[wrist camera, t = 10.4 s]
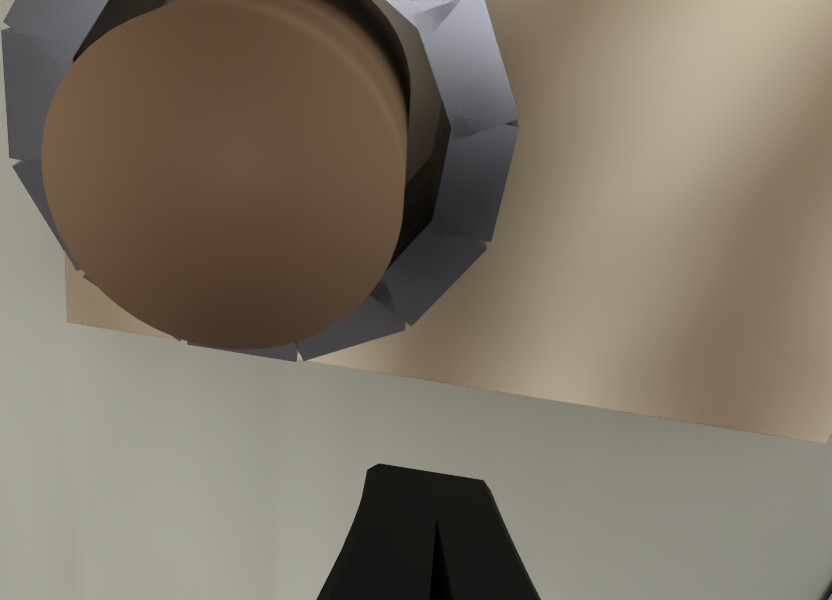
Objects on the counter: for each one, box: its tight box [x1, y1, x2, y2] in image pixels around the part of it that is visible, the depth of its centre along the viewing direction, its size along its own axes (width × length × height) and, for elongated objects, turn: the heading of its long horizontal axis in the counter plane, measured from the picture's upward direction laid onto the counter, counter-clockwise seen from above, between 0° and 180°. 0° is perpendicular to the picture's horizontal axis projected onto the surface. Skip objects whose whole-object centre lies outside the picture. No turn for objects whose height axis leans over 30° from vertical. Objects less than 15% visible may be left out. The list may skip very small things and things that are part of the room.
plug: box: [41, 0, 411, 350], centre depth 12 cm, size 4×4×6 cm
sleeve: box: [1, 0, 520, 362], centre depth 13 cm, size 8×8×4 cm
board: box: [65, 0, 832, 444], centre depth 15 cm, size 18×12×1 cm, turn 80°
